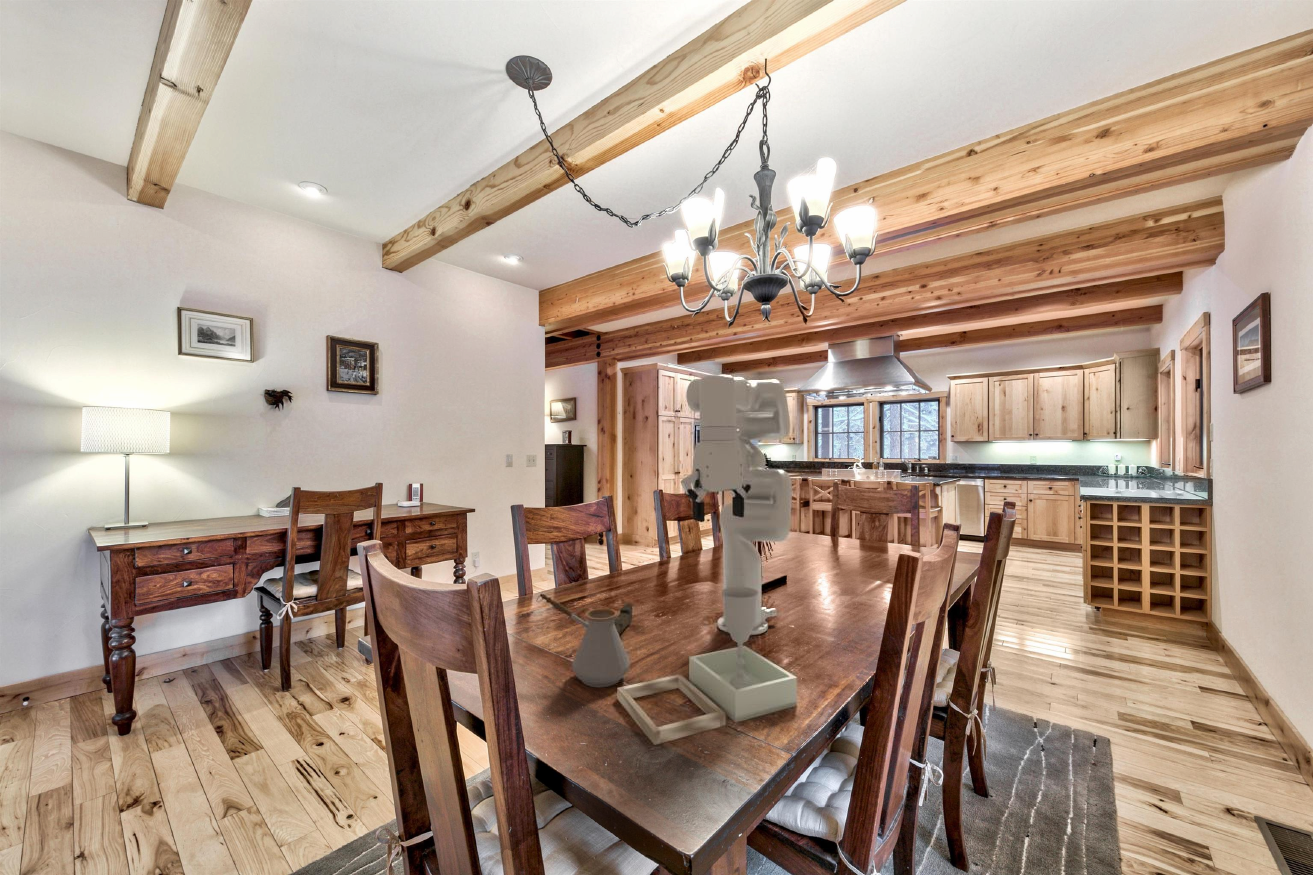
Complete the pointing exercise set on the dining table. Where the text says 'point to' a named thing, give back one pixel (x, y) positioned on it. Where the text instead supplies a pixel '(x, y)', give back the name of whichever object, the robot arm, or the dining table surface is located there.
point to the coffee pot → (598, 648)
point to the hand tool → (623, 618)
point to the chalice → (740, 625)
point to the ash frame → (673, 730)
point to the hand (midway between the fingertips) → (719, 518)
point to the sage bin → (763, 697)
